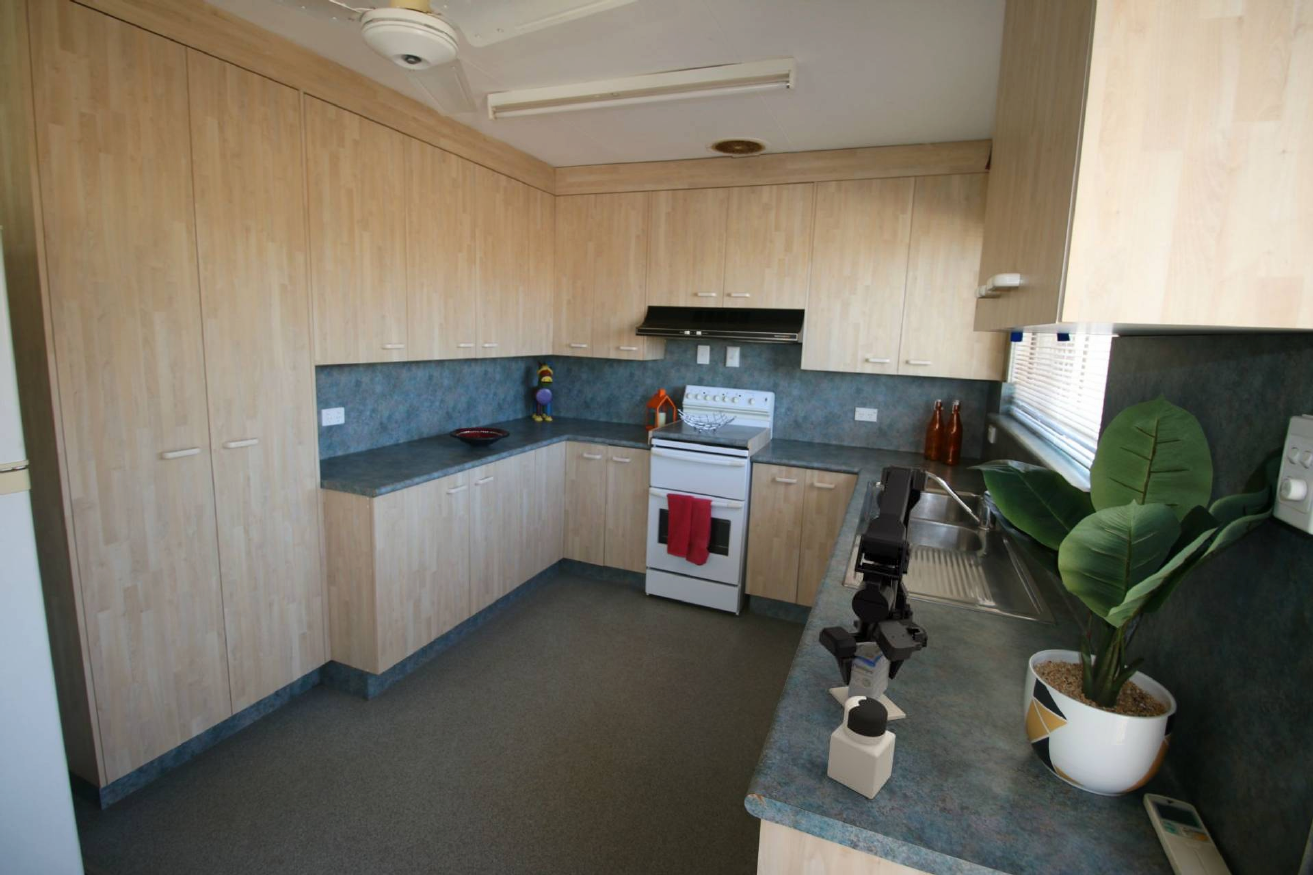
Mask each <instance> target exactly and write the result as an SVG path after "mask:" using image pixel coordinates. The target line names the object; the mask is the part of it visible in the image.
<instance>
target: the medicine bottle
mask: <svg viewBox="0 0 1313 875" xmlns="http://www.w3.org/2000/svg"><path fill="white" fill-rule="evenodd" d="M887 718H888V711H887V709H886V708H885V706H884V705H883V704H882V703H880V702H879V701H877V700H875V699H873V698H870V697H865V696H855V697H851V698H850V699H848V700H847V701H846V703H845V708H844V714H843V722H842V723H841V724H840V725H839V726H838V727H837V728H836V729H835V730H834V731H833V732H832V733H831V734H830V743H829V752H828V764H827V773H826V774H827V776H828V777H829V778H830V779H833V780H834V781H835V782H838V783H839V784H842V785H844V786H845V787H847V788H849V789H851V790H853V791H855V792H857V793H858V794H861V795H862V796H864V797H866V798H867V799H870V800H872V799H874V798H875V796H876V795H877V793H878V792H879V791H880V790H881V789H882V788H883V786H884V784H886V782H887V781H888V780H889V779H890V777H891V776H892V769H893V768H892V767H893V762H894V761H893V760H894V753H895V745H896V734H895V733H893V732H891V731H889V730H887V724H888V721H887Z"/></svg>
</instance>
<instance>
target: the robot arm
mask: <svg viewBox="0 0 1313 875" xmlns="http://www.w3.org/2000/svg"><path fill="white" fill-rule="evenodd" d="M879 485H880V486H881V487H883V496H882V501H881V505H880V508H879V512H878V516H877V517H874V518H873V519H871V520H870V521H869V522H868V524H867V527H866V530H865V532H862V533H861V535H860V540H859V544H858V548H857V555H856V559H855V564H854V569H853V571H854V572H856V573H859V574H862V575H863V576H862V579H861V582H860V583H859V585H858V588H857V589H856V592H855V593H854V595H853V597H852V599H851V608H852V611H853V613H854V615H855V616H856V617H857V618H858V619H857V620H856V619H855V620H853V623H852V624H853V627H854V628H855V629H856V630H857V632H848V630H846V629H845V628H843V627H842V626H841V625H840V626H839V625H838V626H831V627H823V628H821V630H820V631H819V634H818V636H819V637H818V642H819V643H820V644H821V646H822V647H823V648H825V649H826V650H827V651H828V652H829V653H830V655H832V656H833V657H834V658H835V660H836V663H837V665H838V669H839V672H840V675H841V678H842V681H843V683H844V684H845V685H846V686H849V683H850V679H851V670H852V662H853V661H854V660H855V659H856V658H857V657H856V656H855V655H854V653H855V652H856V651H857V650H858V645H861V646H862V645H863V644H869V643H877V645H878V646H879V648H880V649H881V651H882V652H883V655H884V657H885V658H886V659H887V660H889V661H891V662H890V670H889V677H888V679H890V680H894V679H895V678H896V676H897V674H898V672H899V670H900V668H901V667H902V665H903V663H904V662H905V660H910V659H911V657H912V655H913V653H916V652H920V651H922V648H927V647H928V643H929V642H928V641H929V635H928V633H927V631H926V630H925V629H924V628H923V627H921V626H920V625H919V624H917V623H916V622H914V611H913V610H912V605H911V603H909V595H910V594H909V591H908V589H907V587H906V585H905V584H904V580H903V578H904V575H906V576H907V575H908V573H909V566H910V562H911V561H910V560H911V555H912V547H911V546H910V541H909V540H908V539H909V531H910V526H911V525H910V523H911V518H912V510H913V509H914V508H915V507H916V506H917V505H918V504H919V502H920V501H921V500H922V497H923V493H926V491H927V485H928V474H927V473H926V472H923V468H919V467H912V466H905V465H897V464H890V466H888V467H886V466H885V467H882V470H881V477H880V484H879ZM863 559H864V560H865V562H864V561H863V562H862V560H863ZM866 561H867V562H866ZM869 562H870V563H869ZM871 562H872V563H871Z"/></svg>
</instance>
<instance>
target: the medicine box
mask: <svg viewBox="0 0 1313 875" xmlns="http://www.w3.org/2000/svg"><path fill="white" fill-rule="evenodd" d="M854 655H855V656H856V657H857V658H856V659H855V660H854V661H853V662H852V670H851V679H850V683H849V685H848V686H849V689H848V698H849V699H850V698H851V697H855V696H865V697H870V698H873V699H875V700H877V699H878V698H879V697H880V696H881V695H882V693H883V694H884V692H885V691H886V690H888V685H889V684H888V682H889V670H890V662H891V661H889V660H887V659H886V658H885V657H884V655H883V652H882V651H881V649H880V648H879V646H878V645H877V643H869V644H863V645H862V644H861V646H860V647H859V648H857V651H856V652H855V653H854Z"/></svg>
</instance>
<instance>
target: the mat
mask: <svg viewBox="0 0 1313 875" xmlns="http://www.w3.org/2000/svg"><path fill="white" fill-rule="evenodd" d="M848 689H849V685H846V686H840V687H834V688H829V693H830V694H831V695H832V696H833V697H834V698H835V699H836V700H837V701H838V703H839V704H840V705H841V706H842V707H843V708H844V709H845V703H846V701H847V700H848V699H849V698H848ZM877 701H879V702H880V703H882V704H883V705H884V706H885V708H886V709H887V711H888V718H887V722H888V721H893V720H899V719H906V717H907V714H905V712H904V711H902V710H901V709H900V708H899V707H898V706H897V705H896V704H895V703H894V702H892V701H891V700H890V698H889V697H888V696H886V695H885V694H884V692H883V693H882V695H881V696H880V697H879V698H878V699H877Z"/></svg>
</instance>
